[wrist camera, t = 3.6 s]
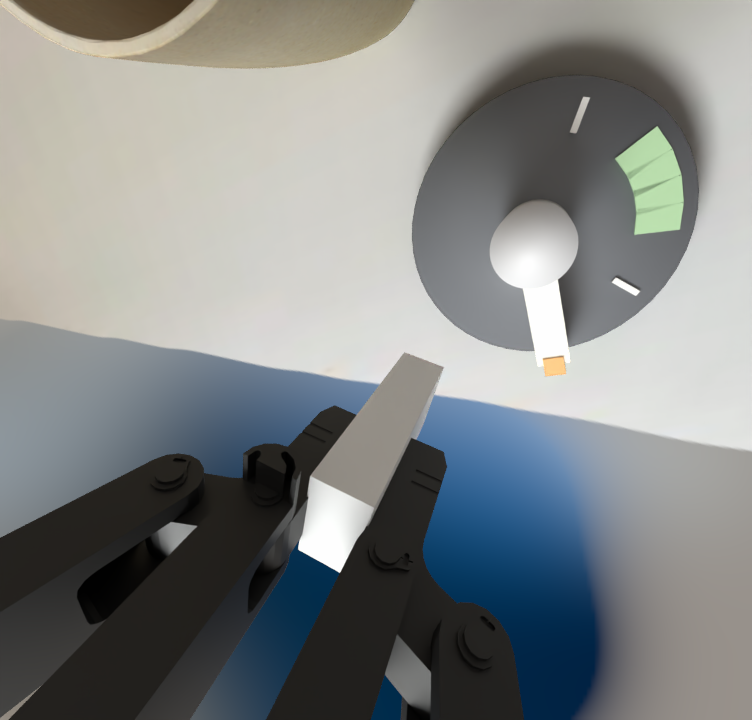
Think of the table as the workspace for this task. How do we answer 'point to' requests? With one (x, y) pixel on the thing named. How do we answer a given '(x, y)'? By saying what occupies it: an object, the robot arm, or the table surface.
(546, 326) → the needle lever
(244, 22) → the plant pot
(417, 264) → the dial base
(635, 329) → the table surface
